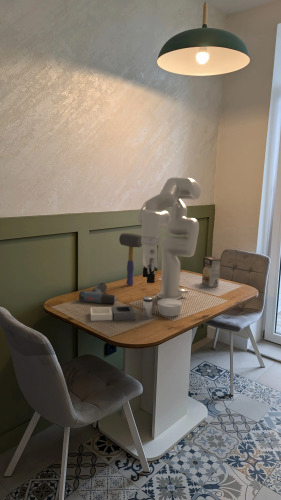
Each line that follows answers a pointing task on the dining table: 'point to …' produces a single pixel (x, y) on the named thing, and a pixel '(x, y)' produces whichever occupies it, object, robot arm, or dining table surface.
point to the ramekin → (169, 307)
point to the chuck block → (123, 313)
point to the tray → (100, 313)
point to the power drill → (97, 295)
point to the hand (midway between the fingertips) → (148, 279)
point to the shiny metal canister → (147, 307)
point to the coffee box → (211, 271)
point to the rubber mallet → (130, 252)
